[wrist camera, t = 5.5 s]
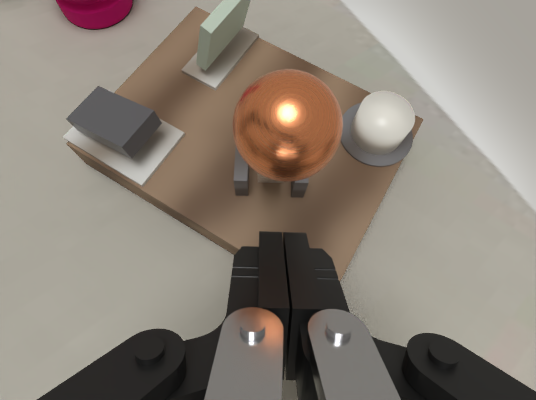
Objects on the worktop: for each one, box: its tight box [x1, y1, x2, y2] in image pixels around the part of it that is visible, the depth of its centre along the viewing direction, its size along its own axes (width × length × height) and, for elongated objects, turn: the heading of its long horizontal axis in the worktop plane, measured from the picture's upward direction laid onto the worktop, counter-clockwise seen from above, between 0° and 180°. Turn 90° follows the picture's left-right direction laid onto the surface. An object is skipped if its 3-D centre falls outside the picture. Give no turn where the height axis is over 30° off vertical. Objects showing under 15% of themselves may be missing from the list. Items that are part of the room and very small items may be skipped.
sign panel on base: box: [196, 0, 250, 71], centre depth 24 cm, size 1×5×4 cm, turn 148°
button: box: [351, 91, 415, 155], centre depth 23 cm, size 4×4×2 cm
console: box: [63, 7, 423, 281], centre depth 24 cm, size 20×15×5 cm
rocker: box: [66, 86, 162, 159], centre depth 22 cm, size 5×3×1 cm, turn 59°
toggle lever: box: [233, 69, 343, 183], centre depth 15 cm, size 3×3×14 cm
